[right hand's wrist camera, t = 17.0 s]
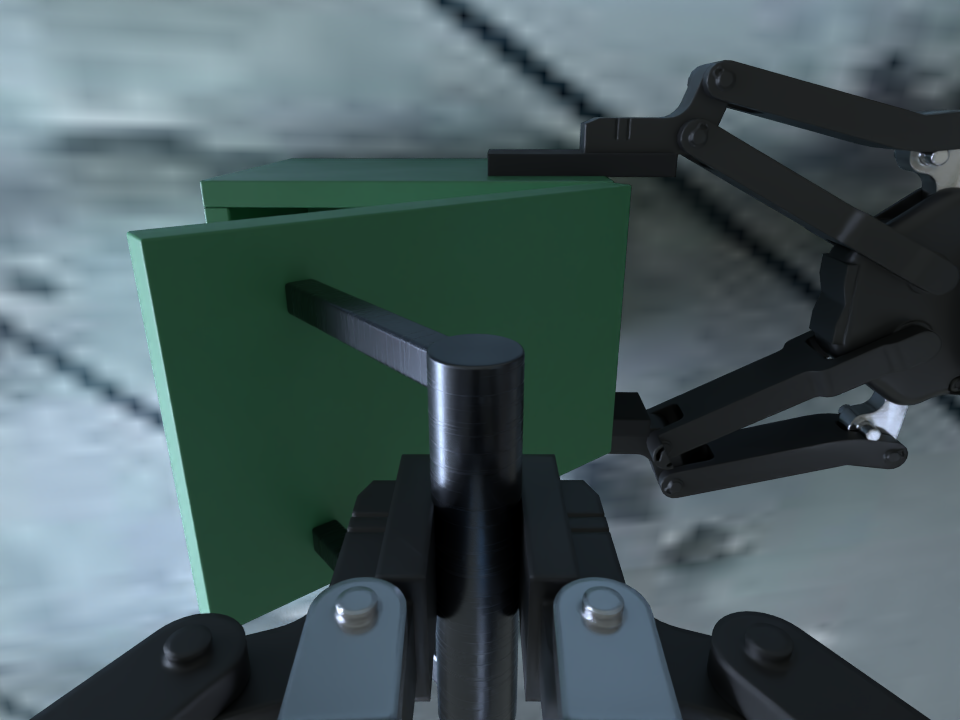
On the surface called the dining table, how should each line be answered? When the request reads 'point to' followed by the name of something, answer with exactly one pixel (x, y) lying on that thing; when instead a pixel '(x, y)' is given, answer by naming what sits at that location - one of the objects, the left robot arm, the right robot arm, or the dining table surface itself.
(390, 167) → the chest
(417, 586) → the right robot arm
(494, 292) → the lid
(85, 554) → the dining table surface
